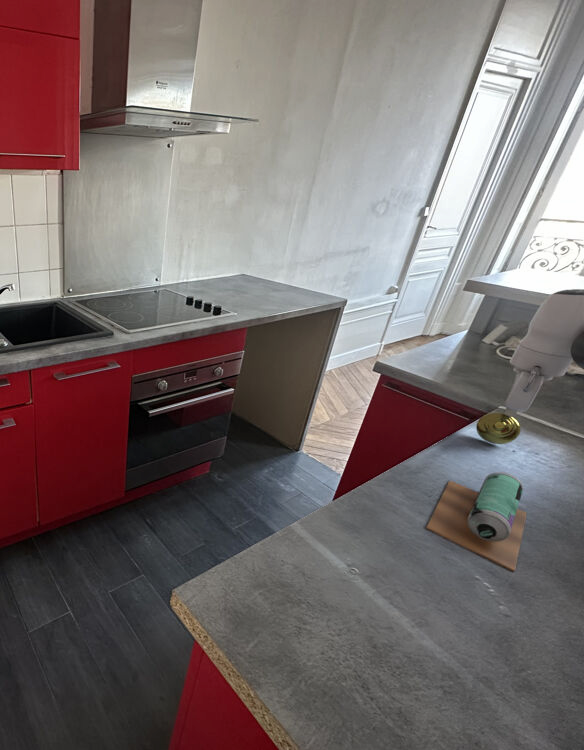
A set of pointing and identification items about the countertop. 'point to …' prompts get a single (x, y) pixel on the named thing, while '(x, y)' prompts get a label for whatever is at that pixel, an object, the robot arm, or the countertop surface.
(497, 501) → the spray can
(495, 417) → the gold stacked rounded piece
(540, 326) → the robot arm
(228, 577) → the countertop surface
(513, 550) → the wooden board
